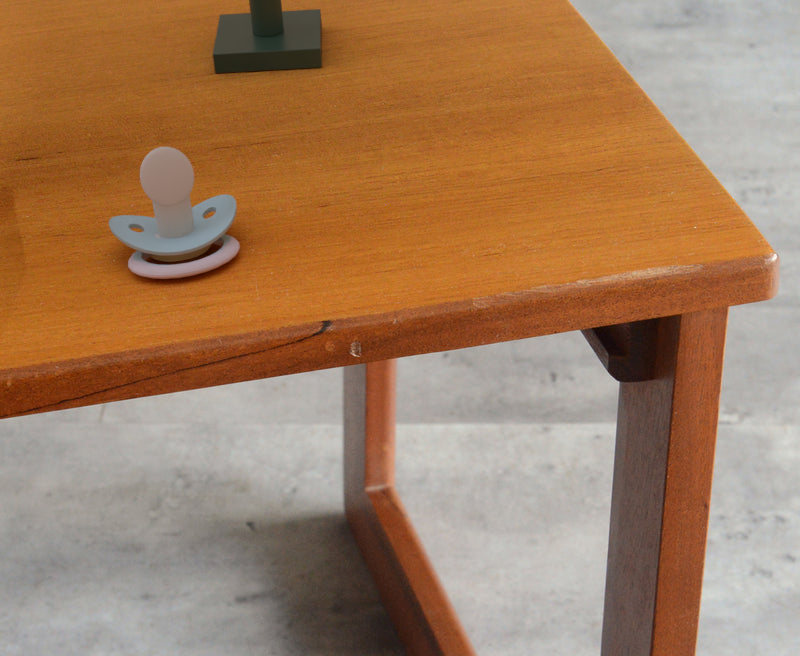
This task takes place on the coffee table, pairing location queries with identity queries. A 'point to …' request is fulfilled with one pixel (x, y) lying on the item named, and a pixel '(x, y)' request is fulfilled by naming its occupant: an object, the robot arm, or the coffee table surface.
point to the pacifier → (176, 221)
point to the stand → (268, 39)
